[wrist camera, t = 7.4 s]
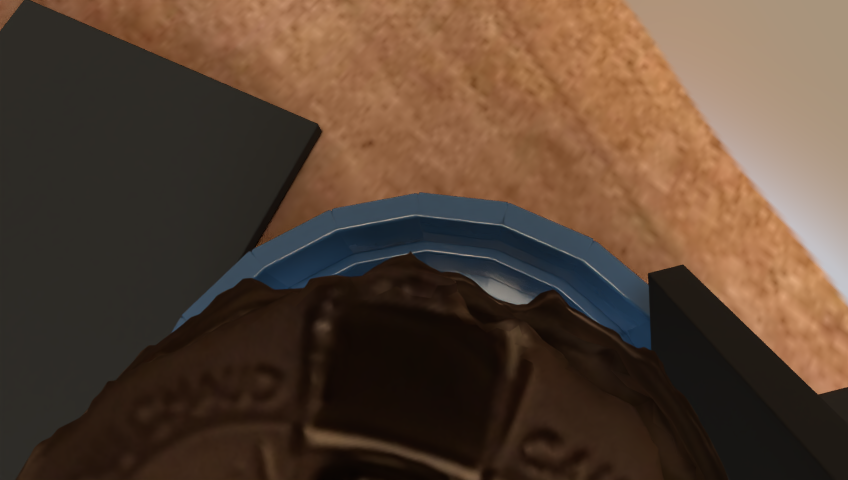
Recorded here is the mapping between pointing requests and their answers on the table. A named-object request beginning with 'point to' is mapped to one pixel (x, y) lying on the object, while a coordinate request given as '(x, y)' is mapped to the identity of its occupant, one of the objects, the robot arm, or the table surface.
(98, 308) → the mat
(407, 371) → the coffee cup
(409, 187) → the table surface
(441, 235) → the bowl
